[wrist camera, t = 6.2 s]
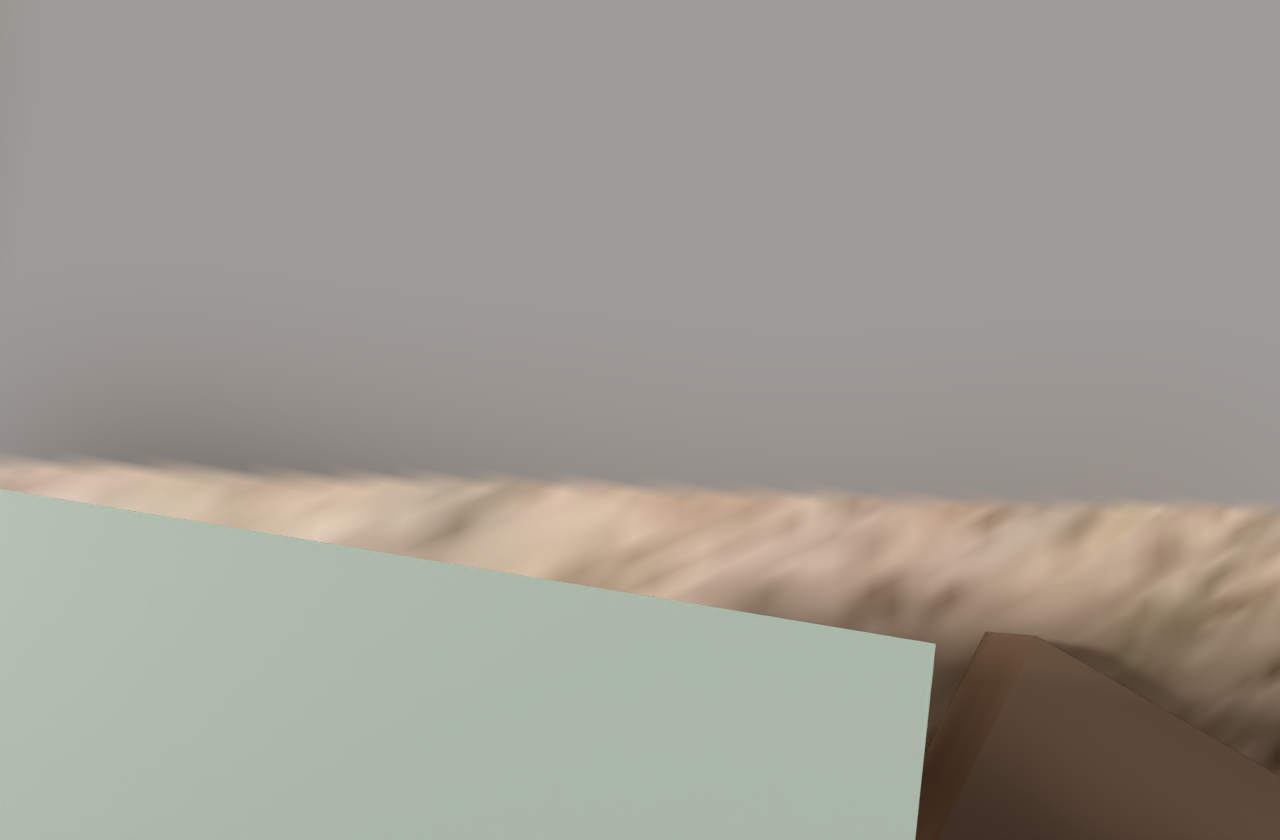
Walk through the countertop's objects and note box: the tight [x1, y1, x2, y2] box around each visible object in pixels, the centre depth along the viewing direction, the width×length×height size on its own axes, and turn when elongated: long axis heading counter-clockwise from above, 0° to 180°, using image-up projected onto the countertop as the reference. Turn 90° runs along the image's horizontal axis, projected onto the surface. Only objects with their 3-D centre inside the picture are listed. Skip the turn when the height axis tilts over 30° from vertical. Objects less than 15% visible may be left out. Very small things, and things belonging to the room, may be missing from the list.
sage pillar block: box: [0, 489, 936, 840], centre depth 10 cm, size 5×5×12 cm
